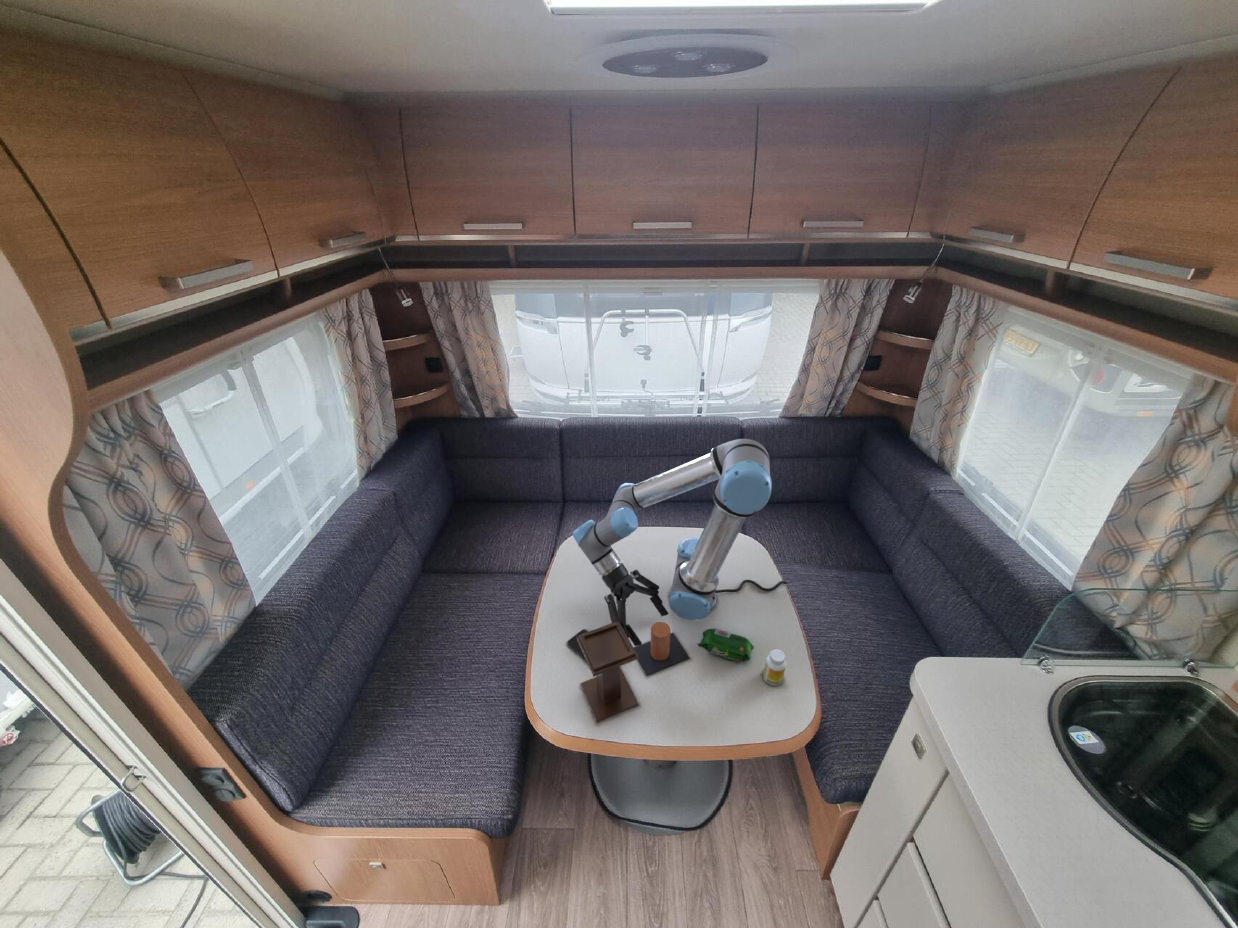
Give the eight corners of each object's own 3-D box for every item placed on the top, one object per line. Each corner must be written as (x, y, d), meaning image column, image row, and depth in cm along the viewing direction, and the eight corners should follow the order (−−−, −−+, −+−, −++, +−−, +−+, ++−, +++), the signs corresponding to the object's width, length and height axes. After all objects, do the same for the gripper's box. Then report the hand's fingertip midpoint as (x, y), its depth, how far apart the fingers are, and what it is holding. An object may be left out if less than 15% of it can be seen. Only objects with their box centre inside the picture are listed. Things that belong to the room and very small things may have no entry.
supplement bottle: (758, 673, 138) (763, 651, 133) (773, 666, 140) (778, 644, 135) (771, 689, 134) (776, 666, 129) (786, 681, 136) (792, 658, 131)
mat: (672, 633, 151) (673, 632, 151) (689, 658, 143) (689, 657, 143) (631, 649, 146) (631, 647, 146) (646, 676, 138) (646, 674, 138)
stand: (620, 669, 140) (618, 618, 129) (638, 705, 131) (638, 653, 120) (581, 685, 136) (576, 634, 125) (596, 723, 127) (593, 671, 116)
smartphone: (565, 644, 148) (601, 676, 138) (565, 642, 148) (601, 674, 138) (584, 629, 153) (621, 659, 143) (584, 627, 152) (621, 657, 143)
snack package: (701, 634, 150) (702, 622, 148) (753, 648, 145) (755, 637, 143) (696, 652, 145) (697, 640, 142) (750, 668, 140) (752, 656, 137)
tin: (663, 642, 147) (664, 619, 142) (672, 656, 143) (674, 633, 138) (647, 648, 146) (647, 625, 140) (655, 663, 141) (656, 640, 136)
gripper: (629, 549, 154) (667, 605, 153) (576, 596, 137) (619, 659, 136) (643, 543, 148) (683, 601, 148) (589, 591, 131) (634, 656, 131)
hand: (652, 629), depth 142 cm, fingers open, 13 cm apart
